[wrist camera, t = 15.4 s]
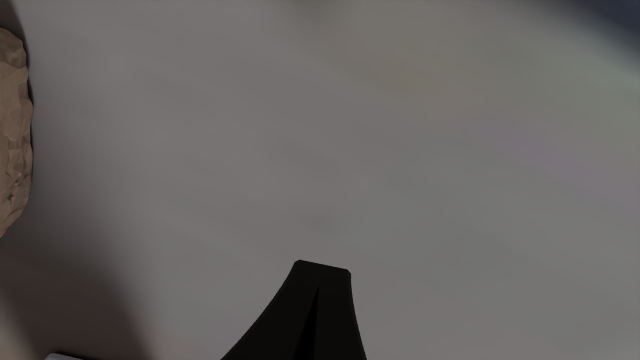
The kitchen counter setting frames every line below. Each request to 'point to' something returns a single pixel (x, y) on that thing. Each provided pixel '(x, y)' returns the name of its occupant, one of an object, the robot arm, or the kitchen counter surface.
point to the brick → (14, 130)
